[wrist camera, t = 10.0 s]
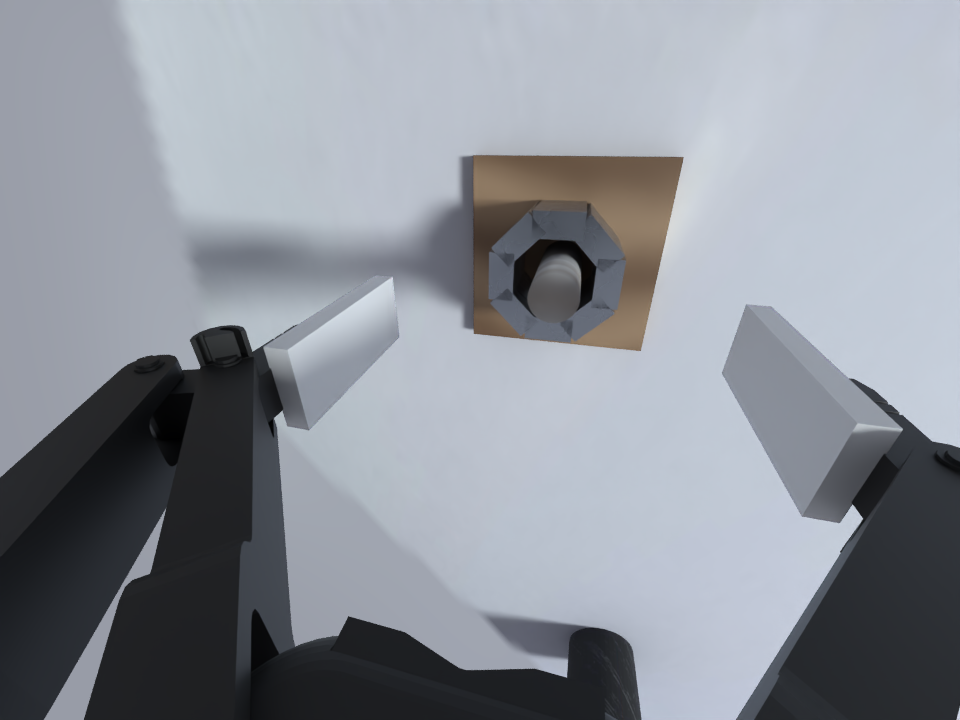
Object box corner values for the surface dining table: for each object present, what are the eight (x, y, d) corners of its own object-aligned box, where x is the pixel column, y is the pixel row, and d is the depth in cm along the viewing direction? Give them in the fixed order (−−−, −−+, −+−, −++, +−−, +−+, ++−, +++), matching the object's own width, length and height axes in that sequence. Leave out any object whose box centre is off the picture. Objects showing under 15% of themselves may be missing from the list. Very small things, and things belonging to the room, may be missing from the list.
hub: (506, 198, 25) (489, 208, 21) (625, 202, 23) (634, 214, 19) (502, 306, 28) (487, 334, 24) (606, 315, 27) (610, 347, 22)
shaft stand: (477, 155, 25) (428, 157, 17) (679, 157, 23) (728, 160, 15) (476, 328, 31) (440, 388, 23) (638, 344, 28) (658, 418, 21)
